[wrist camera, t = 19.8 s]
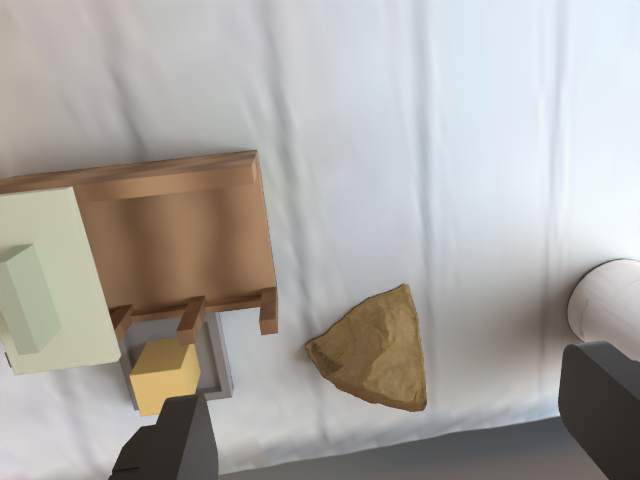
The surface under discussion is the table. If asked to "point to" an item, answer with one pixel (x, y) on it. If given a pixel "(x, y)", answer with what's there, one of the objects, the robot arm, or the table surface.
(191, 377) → the block
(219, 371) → the dish
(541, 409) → the table surface
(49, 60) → the table surface
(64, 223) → the lid
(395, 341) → the rock
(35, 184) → the wooden drawer box
